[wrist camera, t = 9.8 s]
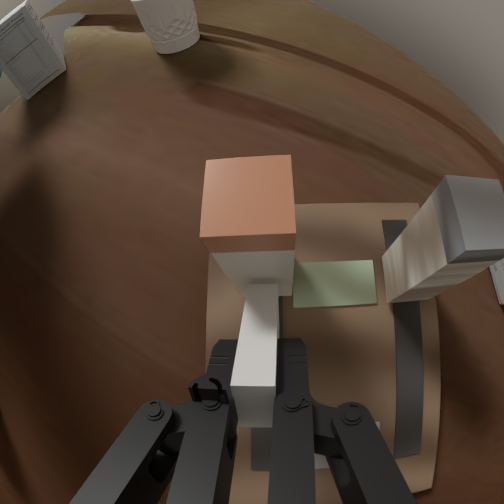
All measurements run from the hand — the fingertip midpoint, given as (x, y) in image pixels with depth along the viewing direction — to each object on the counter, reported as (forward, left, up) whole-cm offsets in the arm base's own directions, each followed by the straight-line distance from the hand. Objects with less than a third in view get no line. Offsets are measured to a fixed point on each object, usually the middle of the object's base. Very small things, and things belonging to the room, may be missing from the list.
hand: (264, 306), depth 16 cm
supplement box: (-28, +50, -6) cm, 58 cm away
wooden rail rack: (+3, -4, -6) cm, 7 cm away
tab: (+1, +3, -4) cm, 5 cm away
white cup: (-2, +39, -6) cm, 40 cm away
